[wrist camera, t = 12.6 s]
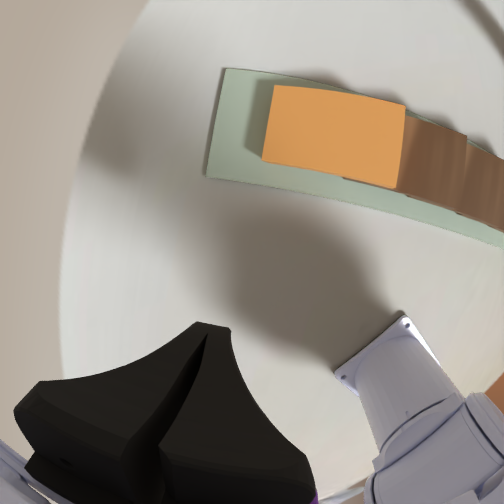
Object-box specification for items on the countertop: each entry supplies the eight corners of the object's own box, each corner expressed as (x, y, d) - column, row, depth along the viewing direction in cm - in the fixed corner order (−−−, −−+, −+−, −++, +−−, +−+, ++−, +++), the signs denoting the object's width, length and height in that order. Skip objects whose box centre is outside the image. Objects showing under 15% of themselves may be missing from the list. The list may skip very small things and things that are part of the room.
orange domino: (281, 93, 16) (401, 113, 13) (269, 163, 17) (392, 188, 15) (274, 85, 15) (405, 106, 12) (261, 160, 16) (395, 187, 13)
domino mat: (538, 189, 16) (541, 190, 15) (527, 258, 18) (529, 259, 17) (227, 70, 16) (226, 68, 16) (206, 176, 18) (205, 176, 18)
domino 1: (353, 110, 16) (459, 140, 13) (343, 179, 17) (450, 208, 15) (353, 103, 14) (467, 135, 12) (342, 177, 16) (458, 209, 13)
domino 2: (415, 132, 16) (500, 164, 13) (406, 196, 17) (491, 225, 15) (420, 127, 14) (509, 162, 12) (411, 196, 16) (500, 227, 13)
